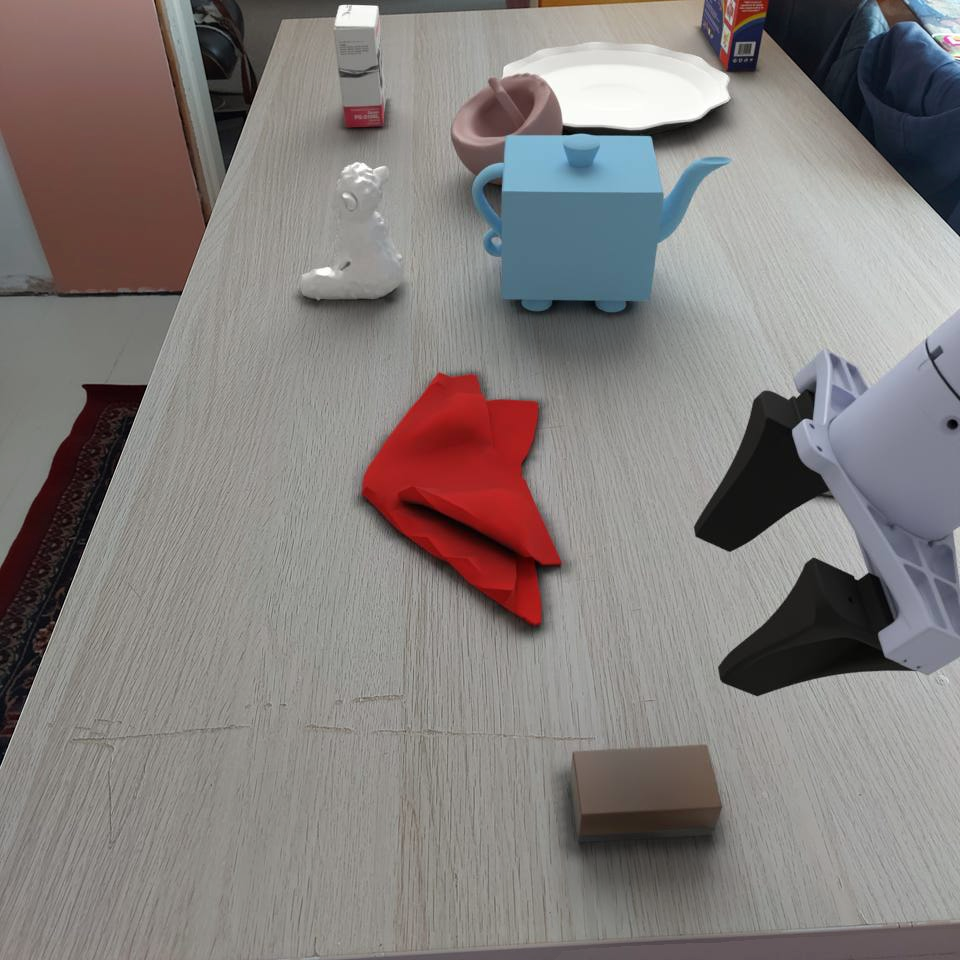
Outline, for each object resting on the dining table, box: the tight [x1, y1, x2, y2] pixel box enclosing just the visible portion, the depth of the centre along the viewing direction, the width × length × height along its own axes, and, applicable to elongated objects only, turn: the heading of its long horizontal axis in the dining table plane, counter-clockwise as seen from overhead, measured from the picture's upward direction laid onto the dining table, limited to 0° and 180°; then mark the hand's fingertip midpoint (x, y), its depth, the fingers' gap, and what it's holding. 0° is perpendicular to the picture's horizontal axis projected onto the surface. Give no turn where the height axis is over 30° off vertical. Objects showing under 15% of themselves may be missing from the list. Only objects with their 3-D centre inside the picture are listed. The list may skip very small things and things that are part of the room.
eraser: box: [569, 744, 723, 843], centre depth 47 cm, size 7×4×3 cm, turn 93°
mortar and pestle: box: [450, 73, 563, 186], centre depth 98 cm, size 12×12×12 cm
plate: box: [500, 41, 731, 136], centre depth 117 cm, size 29×29×2 cm
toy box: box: [700, 0, 770, 72], centre depth 127 cm, size 18×4×12 cm, turn 1°
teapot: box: [471, 133, 733, 313], centre depth 81 cm, size 22×11×14 cm, turn 87°
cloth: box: [361, 371, 563, 627], centre depth 65 cm, size 26×14×2 cm, turn 1°
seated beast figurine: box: [299, 161, 405, 301], centre depth 82 cm, size 10×9×12 cm
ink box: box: [333, 4, 387, 129], centre depth 112 cm, size 8×5×12 cm, turn 2°
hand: (723, 605), depth 39 cm, fingers open, 7 cm apart
